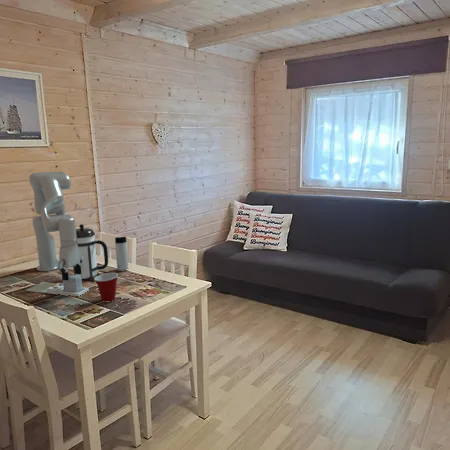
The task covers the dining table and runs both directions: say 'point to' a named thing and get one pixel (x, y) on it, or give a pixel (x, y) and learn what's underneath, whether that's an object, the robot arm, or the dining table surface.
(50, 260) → the robot arm
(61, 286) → the power strip dock
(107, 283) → the plastic cup
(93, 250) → the coffee press
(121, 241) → the travel mug
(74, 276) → the medicine box
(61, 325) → the dining table surface
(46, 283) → the sage mat
